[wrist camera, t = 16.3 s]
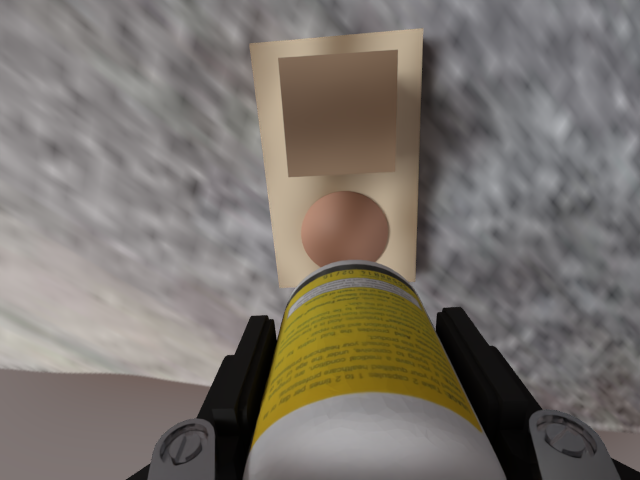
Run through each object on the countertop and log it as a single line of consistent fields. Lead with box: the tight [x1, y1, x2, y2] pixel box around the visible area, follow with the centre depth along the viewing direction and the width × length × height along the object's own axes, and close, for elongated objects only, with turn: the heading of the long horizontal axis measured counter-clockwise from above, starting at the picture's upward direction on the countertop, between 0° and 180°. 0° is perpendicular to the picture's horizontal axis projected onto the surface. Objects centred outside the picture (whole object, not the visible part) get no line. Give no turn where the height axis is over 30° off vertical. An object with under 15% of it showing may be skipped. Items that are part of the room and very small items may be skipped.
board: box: [250, 28, 423, 288], centre depth 22 cm, size 10×16×2 cm, turn 4°
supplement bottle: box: [243, 260, 507, 480], centre depth 8 cm, size 5×5×10 cm
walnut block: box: [278, 50, 398, 177], centre depth 17 cm, size 5×5×6 cm
